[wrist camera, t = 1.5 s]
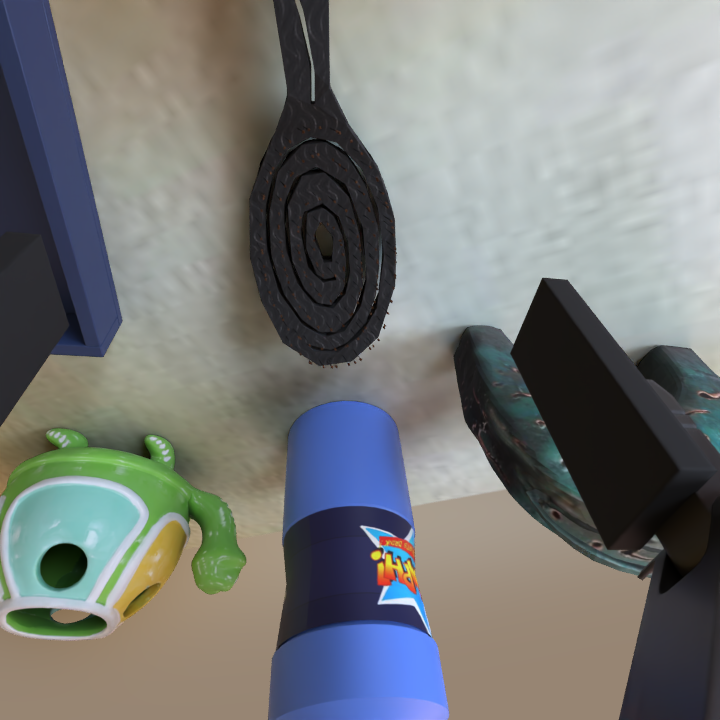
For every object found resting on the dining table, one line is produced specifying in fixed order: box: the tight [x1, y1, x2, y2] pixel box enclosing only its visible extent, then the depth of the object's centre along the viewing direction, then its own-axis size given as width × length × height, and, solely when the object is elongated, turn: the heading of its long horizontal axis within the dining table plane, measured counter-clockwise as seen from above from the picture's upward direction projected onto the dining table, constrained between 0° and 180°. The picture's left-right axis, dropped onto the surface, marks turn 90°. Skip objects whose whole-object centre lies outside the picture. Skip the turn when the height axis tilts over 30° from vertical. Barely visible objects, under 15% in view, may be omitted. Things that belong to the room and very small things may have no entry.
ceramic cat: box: [454, 326, 720, 578], centre depth 27 cm, size 20×6×20 cm, turn 78°
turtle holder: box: [0, 428, 246, 641], centre depth 35 cm, size 12×18×12 cm
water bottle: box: [268, 401, 449, 720], centre depth 29 cm, size 9×9×25 cm
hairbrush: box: [250, 0, 397, 369], centre depth 22 cm, size 8×4×25 cm
